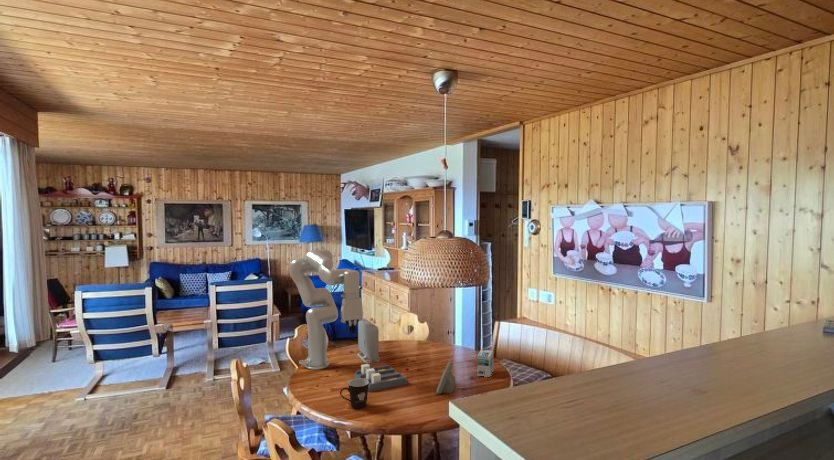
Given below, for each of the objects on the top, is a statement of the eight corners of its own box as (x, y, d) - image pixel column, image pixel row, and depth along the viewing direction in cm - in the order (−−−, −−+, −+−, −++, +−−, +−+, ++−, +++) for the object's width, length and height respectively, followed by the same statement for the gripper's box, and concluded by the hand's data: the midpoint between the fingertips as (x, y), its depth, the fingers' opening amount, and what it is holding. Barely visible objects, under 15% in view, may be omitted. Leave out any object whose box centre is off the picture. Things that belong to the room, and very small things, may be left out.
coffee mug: (369, 401, 182) (369, 378, 182) (368, 410, 173) (368, 386, 173) (342, 401, 181) (342, 378, 181) (339, 410, 173) (339, 386, 173)
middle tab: (368, 379, 201) (368, 371, 201) (366, 377, 203) (366, 369, 203) (375, 378, 202) (375, 370, 202) (372, 376, 205) (372, 368, 205)
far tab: (363, 374, 207) (363, 366, 207) (361, 372, 210) (361, 364, 209) (370, 373, 208) (369, 365, 208) (367, 371, 211) (367, 363, 211)
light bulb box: (490, 378, 208) (490, 356, 208) (476, 376, 210) (477, 355, 210) (493, 370, 218) (493, 350, 218) (480, 369, 220) (480, 349, 220)
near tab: (373, 384, 194) (373, 376, 194) (371, 382, 197) (371, 374, 197) (380, 383, 196) (380, 374, 196) (378, 381, 199) (378, 372, 199)
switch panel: (368, 391, 192) (368, 385, 192) (354, 377, 209) (353, 371, 209) (407, 384, 201) (407, 377, 201) (390, 370, 219) (390, 364, 218)
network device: (354, 352, 249) (354, 318, 249) (368, 350, 253) (368, 317, 252) (368, 365, 226) (368, 328, 226) (383, 363, 230) (383, 327, 229)
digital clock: (443, 381, 205) (443, 359, 204) (460, 384, 201) (460, 362, 200) (429, 393, 190) (429, 370, 190) (448, 397, 186) (448, 373, 186)
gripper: (338, 298, 198) (339, 337, 198) (368, 295, 205) (369, 333, 205) (334, 296, 205) (334, 333, 205) (363, 293, 212) (363, 329, 212)
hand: (351, 333), depth 205 cm, fingers closed
